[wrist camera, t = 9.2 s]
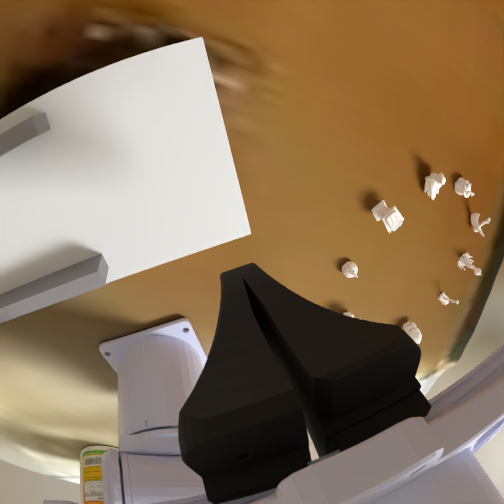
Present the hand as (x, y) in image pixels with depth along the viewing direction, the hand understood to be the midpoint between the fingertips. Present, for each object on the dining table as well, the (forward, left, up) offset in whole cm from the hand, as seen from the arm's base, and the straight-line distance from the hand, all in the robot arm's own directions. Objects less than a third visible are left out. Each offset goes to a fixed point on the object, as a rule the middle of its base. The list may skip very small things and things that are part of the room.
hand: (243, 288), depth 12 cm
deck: (+4, +14, -9) cm, 17 cm away
